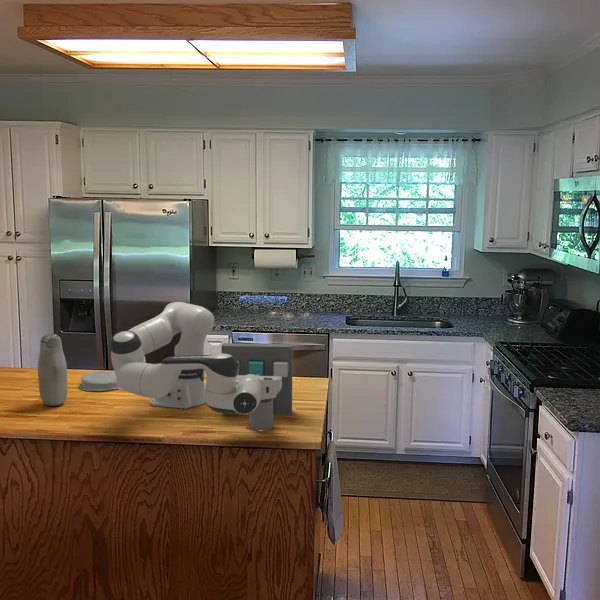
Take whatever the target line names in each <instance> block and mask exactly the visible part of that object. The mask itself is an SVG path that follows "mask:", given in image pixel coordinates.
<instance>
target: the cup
mask: <svg viewBox="0 0 600 600" xmlns="http://www.w3.org/2000/svg"><path fill="white" fill-rule="evenodd" d="M272 427H273V428H274V414H273V398H271V399H264V400H260V403H259V405H258V407H257V408H256V409H255V410H254V411H253V412H251V413H250V414H249V429H251V430H253V429H254V431H257V430H264V431H268V429H269V430H271V429H273V428H272Z"/></svg>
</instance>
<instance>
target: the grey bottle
mask: <svg viewBox="0 0 600 600" xmlns="http://www.w3.org/2000/svg"><path fill="white" fill-rule="evenodd" d="M39 345H40V346H39V355H38V361H37V376H38V389H39V391H38V392H39V396H40V398H41V401H42V403H44V404H45V405H47V406H51V407H52V406H53V407H57V406H60V405H62V404H63V403H64V402H65V401H66V399H67V396H68V388H69V387H68V367H67V360H66V357H65V354H64V350H63V344H62V339H61V337H60V336H59V335H58V334H56V333H48V334H47V333H46V334H44V335H43V336H42V337H41V339H40V344H39Z"/></svg>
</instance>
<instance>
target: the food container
mask: <svg viewBox="0 0 600 600" xmlns="http://www.w3.org/2000/svg"><path fill="white" fill-rule="evenodd" d="M80 380H81V383H80V384H79V389H80V390H81V391H85V392H88V391H89V392H92V391H94V392H103V391H112V390H119V388H120V387H119V386H118V384H117V380H116V374H115V371H114V370H96V371H90V372H87V373H85V374H82V375H81V378H80ZM120 389H121V388H120Z"/></svg>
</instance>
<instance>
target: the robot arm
mask: <svg viewBox="0 0 600 600" xmlns="http://www.w3.org/2000/svg"><path fill="white" fill-rule="evenodd" d="M214 326H215V317H214V314H213V313H212V312H211V311H210V310H209V309H207V308H205V307H203V306H202V305H201V306H200V305H197V304H193V303H187V302H183V301H175V302H170V303H168V304H167V305H166V306H165V307H164V309H163V310H162V312H160V314H157V315H156V316H155V317H153V318H151V319H148V320H146V321H144V322H142V323H139V324H138V325H136V326H133V327H131V328H130V329H128V330H122V331H118V332H116V333H115V334H114V335H113V336H111V338H110V341H109V350H110V358H111V364H112V366H113V371H115V374H116V380H117V384H118V386H119V387H120V389H121V390H123V391H125V392H128V393H130V394H133V395H136V396H140V397H145V398H150V400H149V405H150V406H153V407H155V406H156V407H164V408H173V409H183V408H184V409H189V408H192V407H197V406H201V405H203V404H204V405H206V406H207V407H208V408H209V409H210V410H211V411H212V412H214V413H217V414H218V413H219V414H232V413H234V412H237V413H239V415H240V414H241V415H250V414H249V413H251V412H253V411H254V410H255V409H256V408H257V407H258V405H259V403H260V400H264V399H271V398H275V397H276V394H277V393H279V392H280V390H281V388H282V377H280V376H259V374H248V375H237V373H238V367H239V364H238V362H237V361H236V359H235V358H234V357H233V356H232V355H230V354H222V353H216V354H204V348H205V347H204V346H205V342H206V338H207V336H208V334H209V333H210V332H211V331H212V330H213V328H214ZM180 333H181V334H180ZM177 334H180V339H179V341H178V343H177V344H176V345H175V346H174V356H167V357H166V358H163V359H162V360H161V362H160V363H148V362H146V356H145V355H147V354H150V353H152V352H154V351H156V350H158V349H160V348H162V347H164V346H166V345H168V344H170V343H171V342H172V340H173V337H175V335H177ZM184 409H183V410H184Z"/></svg>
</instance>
